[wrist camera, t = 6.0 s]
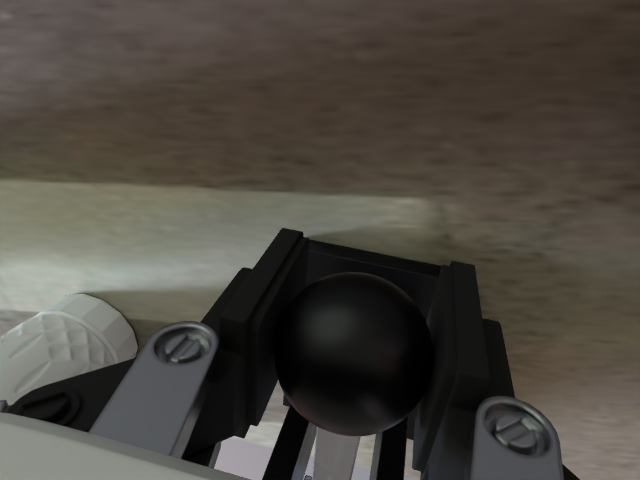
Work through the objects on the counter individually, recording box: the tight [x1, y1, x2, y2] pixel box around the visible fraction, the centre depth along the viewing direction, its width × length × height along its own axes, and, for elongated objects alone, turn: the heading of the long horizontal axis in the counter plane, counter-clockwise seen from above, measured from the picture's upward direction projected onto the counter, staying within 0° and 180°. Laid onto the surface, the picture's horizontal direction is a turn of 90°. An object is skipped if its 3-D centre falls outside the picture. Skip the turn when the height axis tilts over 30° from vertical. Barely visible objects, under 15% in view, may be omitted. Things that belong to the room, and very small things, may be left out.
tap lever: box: [274, 272, 433, 480], centre depth 13 cm, size 14×3×3 cm, turn 174°
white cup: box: [0, 294, 138, 405], centre depth 27 cm, size 8×8×10 cm
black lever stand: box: [262, 240, 442, 480], centre depth 20 cm, size 12×9×13 cm
